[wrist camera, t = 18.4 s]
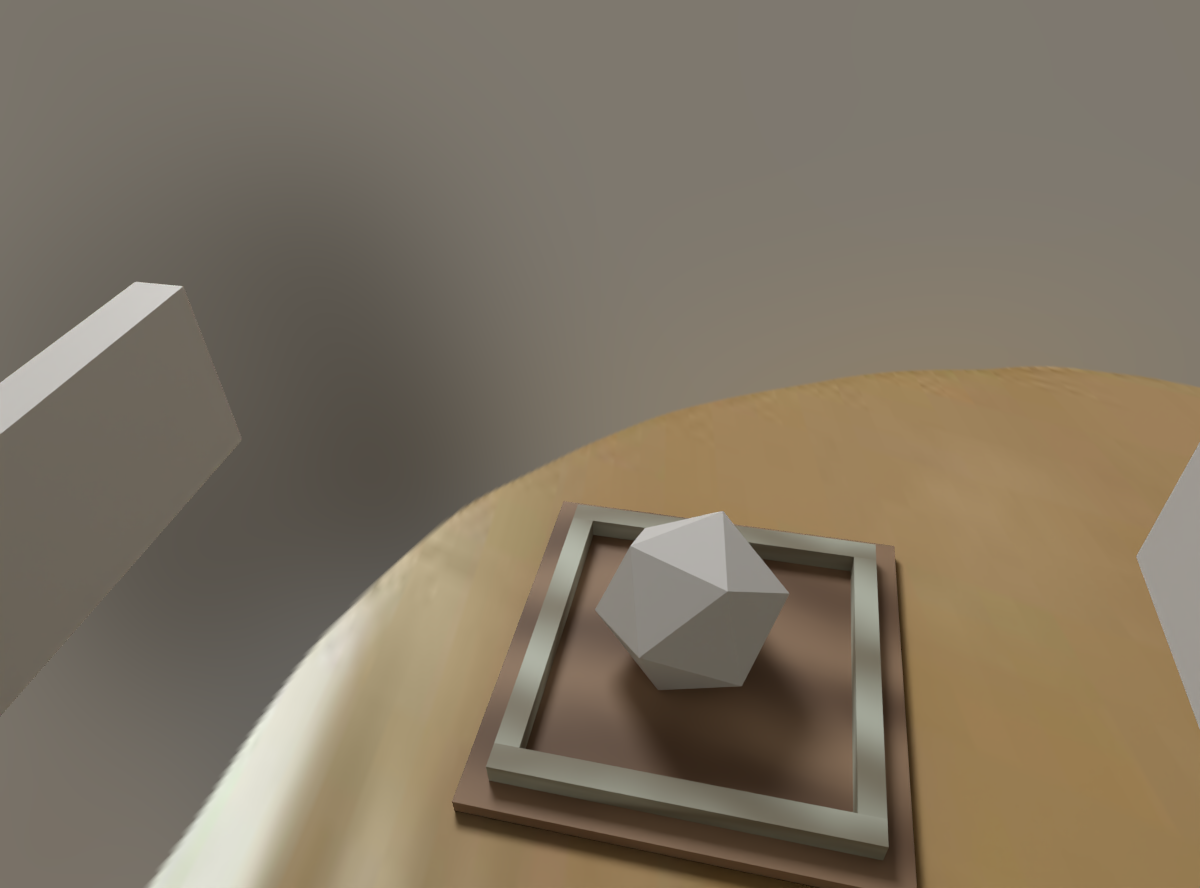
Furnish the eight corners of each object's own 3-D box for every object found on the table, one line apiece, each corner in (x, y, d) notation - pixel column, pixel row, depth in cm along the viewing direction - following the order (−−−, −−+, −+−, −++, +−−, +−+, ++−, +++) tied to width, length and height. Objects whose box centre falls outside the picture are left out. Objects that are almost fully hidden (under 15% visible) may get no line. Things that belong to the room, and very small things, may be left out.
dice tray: (913, 907, 34) (924, 886, 33) (454, 810, 38) (448, 788, 37) (891, 555, 49) (898, 531, 48) (564, 510, 53) (562, 487, 52)
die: (771, 742, 40) (842, 557, 39) (618, 728, 36) (692, 522, 35) (688, 660, 47) (745, 502, 46) (553, 641, 43) (612, 468, 42)
